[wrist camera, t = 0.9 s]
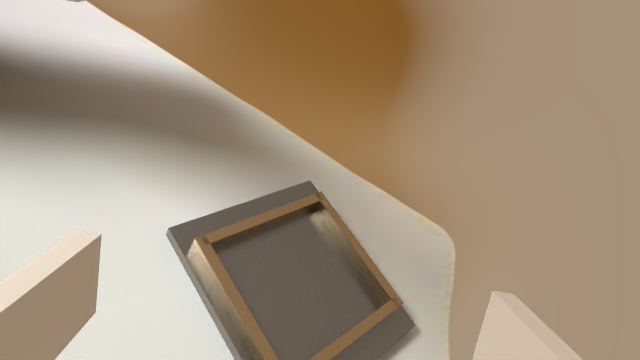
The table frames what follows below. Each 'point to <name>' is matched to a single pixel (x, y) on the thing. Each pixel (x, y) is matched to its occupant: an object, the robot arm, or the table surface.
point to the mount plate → (289, 280)
